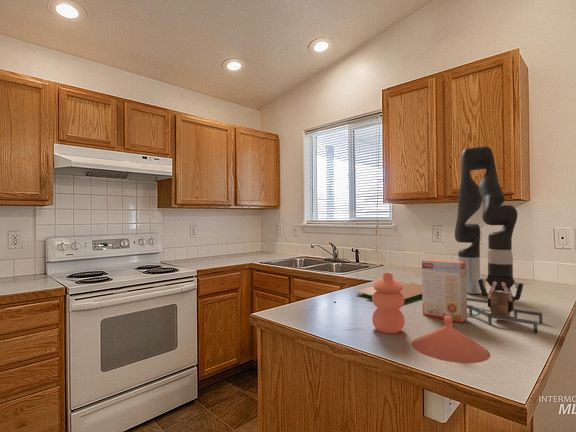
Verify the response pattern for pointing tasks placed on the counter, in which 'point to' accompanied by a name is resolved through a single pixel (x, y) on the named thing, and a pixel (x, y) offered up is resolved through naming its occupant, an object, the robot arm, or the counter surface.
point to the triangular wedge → (407, 292)
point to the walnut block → (499, 304)
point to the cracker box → (444, 289)
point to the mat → (474, 311)
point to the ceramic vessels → (434, 344)
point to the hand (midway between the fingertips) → (500, 310)
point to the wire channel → (506, 316)
